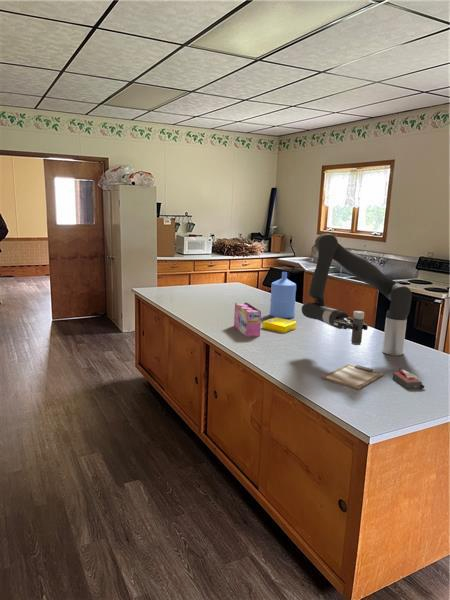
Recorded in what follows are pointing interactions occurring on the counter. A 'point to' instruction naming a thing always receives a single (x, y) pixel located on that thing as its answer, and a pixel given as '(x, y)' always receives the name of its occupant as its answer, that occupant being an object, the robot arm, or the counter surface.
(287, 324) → the element tile
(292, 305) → the water jug
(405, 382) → the walkie-talkie
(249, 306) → the pink multipack package
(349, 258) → the robot arm
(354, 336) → the bottle
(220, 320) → the counter surface
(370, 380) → the clipboard
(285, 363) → the counter surface
